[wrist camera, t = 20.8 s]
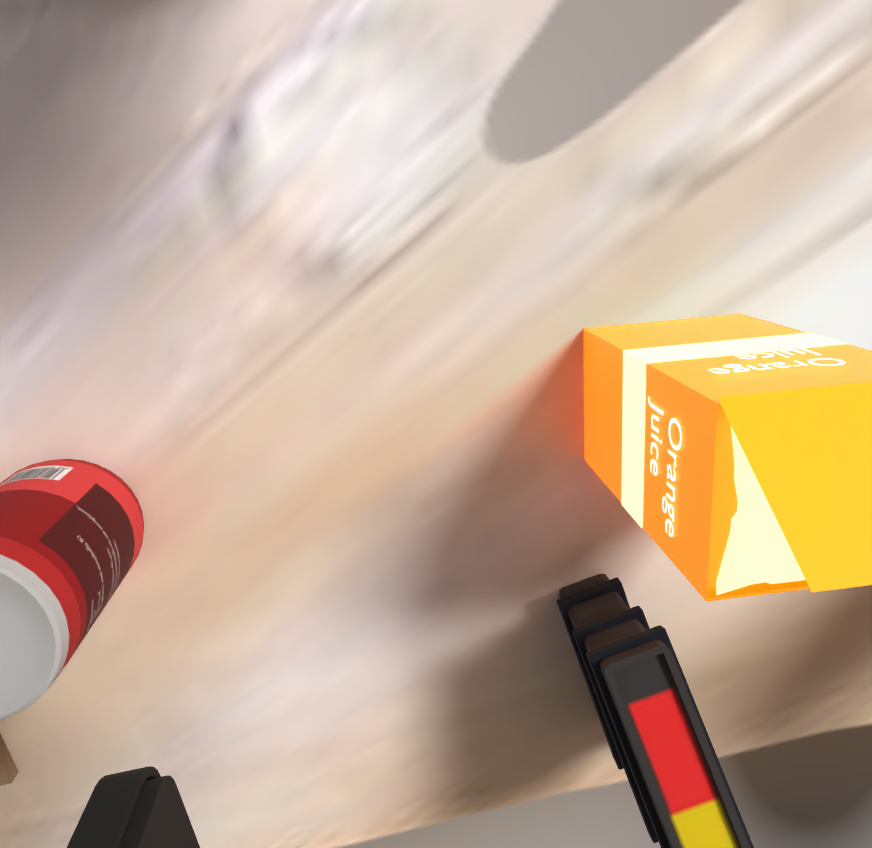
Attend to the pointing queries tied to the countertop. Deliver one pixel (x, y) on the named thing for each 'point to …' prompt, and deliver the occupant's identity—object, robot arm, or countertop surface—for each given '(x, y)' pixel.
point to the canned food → (58, 567)
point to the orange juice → (737, 449)
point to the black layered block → (650, 719)
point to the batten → (6, 765)
